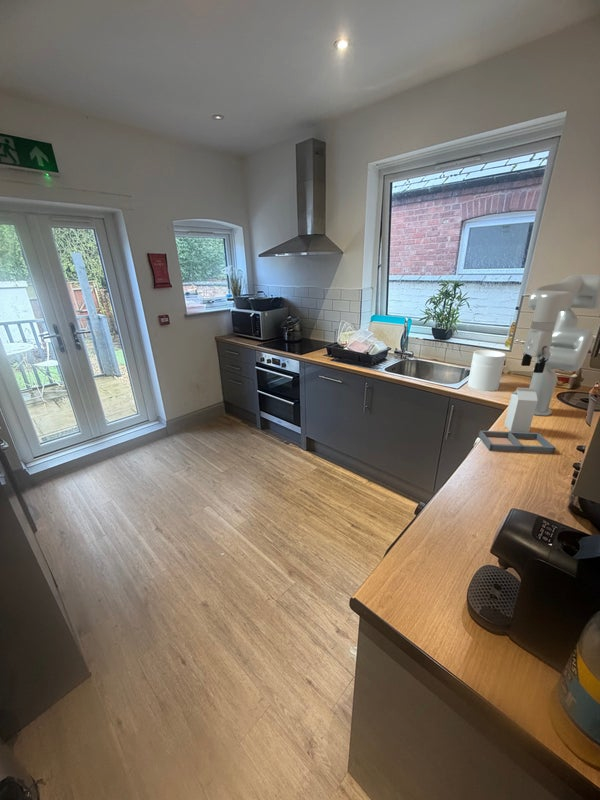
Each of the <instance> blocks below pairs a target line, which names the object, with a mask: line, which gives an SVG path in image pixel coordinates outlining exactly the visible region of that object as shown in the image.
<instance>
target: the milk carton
mask: <svg viewBox="0 0 600 800" xmlns="http://www.w3.org/2000/svg"><path fill="white" fill-rule="evenodd" d="M537 401H538V400H537V395H536V388H529V387H516V390H514V391H513V392H512V393H511V395H510V398H509V403H508V407H507V411H506V412H507V413H506V416H505V421H504V426H505V427H506V429H508V431H509V432H529V433H530V431H531V430H530V429H531V425H532V422H533V419H534V412H535V408H536V405H537Z"/></svg>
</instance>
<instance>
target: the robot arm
mask: <svg viewBox="0 0 600 800" xmlns="http://www.w3.org/2000/svg"><path fill="white" fill-rule="evenodd" d="M527 306H528V309H530V310H533V311H534V312H533V315H532V319H531V324H530V328H529V330H528V332H527V335H526V337H525V341H524V344H523V348H522V351H523V354H522V359H521V363H520V365H521V367H523V366H524V367H530V366H531V363H532V359H533V358H534V365H533V366H534V367H533V372H532V375H531V380H530V384H529V387H528V388H536V395H537V400H538V401H537V405H536V408H535V412H534V415H535V416H540V417H543V416H545V417H546V416H550V415H552V413H553V411H552V410H551V408H550V405H551V401H552V398H553V395H554V391H555V388H556V384H557V382H558V375H557V371H555V370H560V371H561V370H562V371H566V372H567V371H568V372H576V371H579V370H580V369H581V368H582V366H583V364H584V363H585V359H586V357H587V354H588V353H589V350H590V347H591V345H592V343H593V339H594V333H593V331H592V330H591V329H588V328H583V327H577V325H578V324H579V317H578V316H577V313H576V312H575V311H574V310H573V309H590V310H594V309H598V308H600V274H597V273H596V274H587V273H586V274H581V273H579V274H571V275H569V276H567V277H565V278H563V280H561V281H560V282H554V283H552V284H545V285H542V286H539V287H537V288H536V289H534V290H533V291H532V292H531V293H530V295H529V297H528V298H527ZM572 308H573V309H572ZM534 415H533V416H534Z"/></svg>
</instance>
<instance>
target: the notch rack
mask: <svg viewBox="0 0 600 800" xmlns="http://www.w3.org/2000/svg"><path fill="white" fill-rule="evenodd" d="M477 434H478V435H477V437H478V438H479V439H480V440H481V442H482V443H483V444H484V446H485V447H486V448H487V450H488V451H490V452H491V451H492V452H493V451H494V452H512V453H531V454H553V455H554V454H555V451H556V449H557V448H556V446H554V445H553V444H552V443H551V442H550V441H549V440H547V439H546V438H545V437H544V436H543V435H542V434H541V433H539V432H530V431H529V432H510V431H505V430H504V431H502V430H497V431H496V430H478V433H477ZM520 439H524V440H535V441H537V442H538V443H539V444H540V445H531V444H530V445H528V444H527V445H525V444H523V443H522V442H520Z"/></svg>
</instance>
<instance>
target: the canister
mask: <svg viewBox="0 0 600 800" xmlns="http://www.w3.org/2000/svg"><path fill="white" fill-rule="evenodd" d="M506 357H507V355H506V353H505V352H502V351H498V350H491V349H477V350H474V351H473V354H472V360H471V364H470V369H469V375H468V381H467V386H468V387H469V388H470V389H473V388H474V389H473V390H476V389H478V390H477V391H481V390H483V391H482V392H495V390H496V391H498V390H499V387H500V383H501V379H502V374H503V369H504V366H505V360H506Z"/></svg>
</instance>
